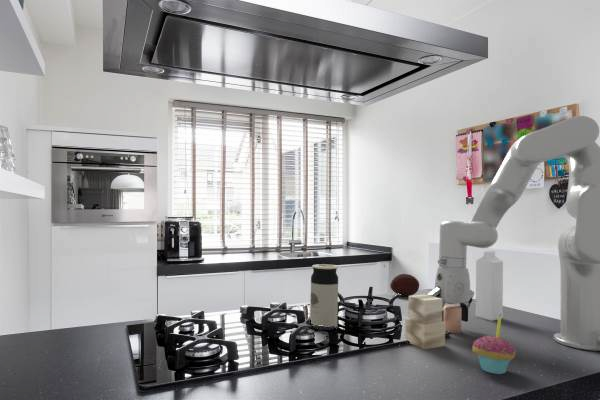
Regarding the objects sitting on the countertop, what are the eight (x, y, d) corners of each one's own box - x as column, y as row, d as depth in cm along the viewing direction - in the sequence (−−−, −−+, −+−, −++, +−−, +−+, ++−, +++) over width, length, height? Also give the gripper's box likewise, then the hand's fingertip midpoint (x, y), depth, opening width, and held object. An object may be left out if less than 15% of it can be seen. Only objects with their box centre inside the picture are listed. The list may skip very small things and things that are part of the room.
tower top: (442, 322, 104) (442, 298, 104) (424, 324, 101) (424, 300, 102) (425, 316, 109) (425, 294, 110) (408, 318, 107) (408, 295, 107)
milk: (475, 316, 135) (475, 250, 136) (486, 314, 138) (486, 250, 139) (492, 321, 130) (492, 252, 131) (503, 318, 133) (503, 251, 134)
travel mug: (331, 323, 122) (332, 263, 123) (341, 331, 115) (342, 267, 115) (306, 324, 120) (307, 264, 121) (314, 332, 112) (316, 267, 113)
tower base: (444, 346, 104) (445, 322, 104) (423, 349, 100) (424, 325, 101) (425, 338, 110) (425, 316, 110) (405, 341, 107) (405, 318, 107)
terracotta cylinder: (465, 332, 116) (465, 307, 117) (452, 334, 114) (452, 309, 114) (451, 327, 121) (452, 304, 121) (439, 329, 119) (439, 305, 119)
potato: (422, 298, 163) (422, 275, 163) (392, 298, 163) (393, 275, 163) (415, 294, 172) (415, 272, 172) (387, 293, 171) (387, 271, 172)
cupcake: (489, 360, 93) (490, 308, 94) (524, 374, 86) (525, 317, 86) (463, 366, 89) (464, 311, 90) (498, 380, 82) (498, 321, 82)
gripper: (439, 265, 111) (438, 328, 111) (483, 264, 119) (482, 322, 118) (420, 262, 118) (419, 321, 117) (463, 261, 125) (462, 316, 125)
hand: (450, 321), depth 118 cm, fingers open, 9 cm apart
